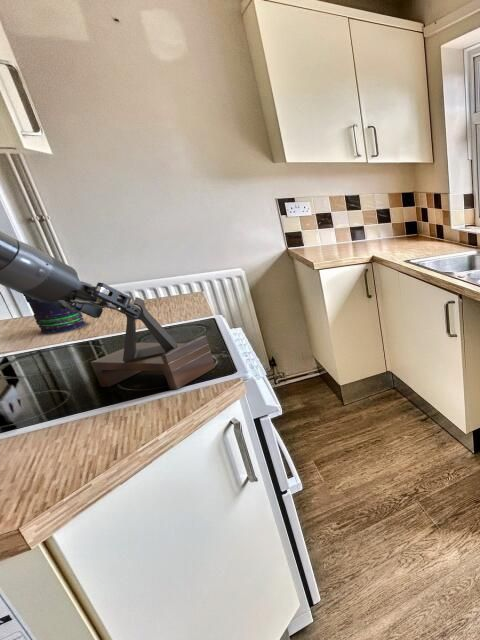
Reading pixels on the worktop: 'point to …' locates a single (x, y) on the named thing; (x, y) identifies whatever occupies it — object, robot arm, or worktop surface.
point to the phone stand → (156, 330)
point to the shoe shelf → (158, 364)
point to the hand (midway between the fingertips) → (118, 314)
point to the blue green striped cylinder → (54, 317)
